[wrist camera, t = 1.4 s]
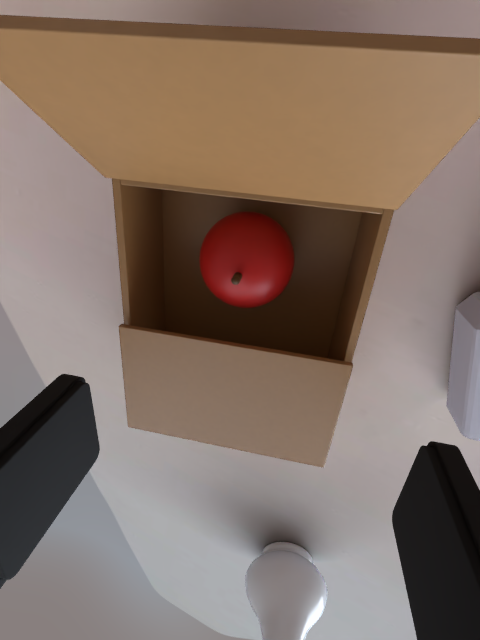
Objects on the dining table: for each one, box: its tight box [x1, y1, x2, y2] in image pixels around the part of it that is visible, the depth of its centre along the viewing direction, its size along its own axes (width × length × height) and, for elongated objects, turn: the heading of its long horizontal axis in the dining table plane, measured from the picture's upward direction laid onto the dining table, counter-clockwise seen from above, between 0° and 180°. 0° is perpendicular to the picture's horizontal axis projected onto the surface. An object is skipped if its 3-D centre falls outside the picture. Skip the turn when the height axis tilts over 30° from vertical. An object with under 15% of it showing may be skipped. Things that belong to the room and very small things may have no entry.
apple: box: [199, 211, 294, 308], centre depth 22 cm, size 6×6×7 cm
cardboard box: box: [112, 178, 394, 468], centre depth 24 cm, size 18×15×7 cm
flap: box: [0, 15, 480, 210], centre depth 13 cm, size 9×15×1 cm
